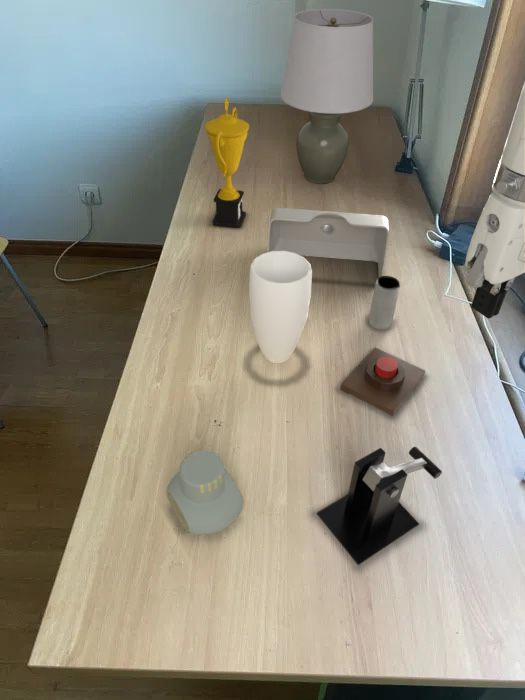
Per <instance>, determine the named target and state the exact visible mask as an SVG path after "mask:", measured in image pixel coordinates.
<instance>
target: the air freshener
mask: <svg viewBox="0 0 525 700" xmlns="http://www.w3.org/2000/svg"><path fill="white" fill-rule="evenodd" d="M165 491H166V496H167V498H168V501H169V504H170V506H171V508H172V509H173V512H174V513H175V515H176V517H177V518H178V520H179V522H180V524H181V525H182V527H183V528H184V530H185V531H186V532H187V533H188V534H191V535H194V536H210V535H215V534H218V533H221V532H222V531H224V530H226V529H228V528H229V527H230V526H231V525H232V524H233V523H234V522H236V520H237V519H238V518H239V516H240V514H241V512H242V509H243V507H244V498H243V495H242V492H241V490H240V488H239V487H238V485H237V483H236V481H235V480H234V478H233V477H232V475H231V474H230V472H229V471H228V470H227V469H226V468H225V463H224V460H223V458H221V457H220V455H218V454H217V453H215V452H213V451H210V450H206V449H205V450H197V451H194V452H191V453H189V454H188V455H187V456H185V457H184V459H183V460H182V461H181V463H180V466H179V471H178V472H177V473H176V474H174V476H173V477H171V479H170V481H169V483H168V485H167V487H166V489H165Z"/></svg>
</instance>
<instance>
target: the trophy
mask: <svg viewBox="0 0 525 700" xmlns="http://www.w3.org/2000/svg"><path fill="white" fill-rule="evenodd" d="M228 110H229V97H228V96H226V97H225V99H224V111H225V113H223V114H220V115H219V116H218V117H217V118H214V119H213V118H212V119H211V120H209V121H207V122H206V123H205V124H204V129H205V131H206V136H207V138H208V140H209V141H210V145H211V150H212V153H213V155H214V156H213V157H214V160H215V163H216V165H217V169H218V170H219V171H220V173H222V176H223V177H225V178H224V179H225V185H224V186H222V187H221V188H219V189H218V190H217V192H216V194H215V195H214V198H213V202H214V203H215V212H216V213H215V215H214V218H213V220H212V226H214V227H220V228H231V229H240V228H241V227H243V224H244V221H245V219H246V216H247V212H246V211H244V210H243V197H244V194H245V192H244V190H238V189H236V187H235V186H233V184H232V183H233V182H232V176H233V175H234V173H236V172H237V170H238V169H239V165H240V162H241V157H242V154H243V150H244V147H245V142H246V140H247V137H248V132H249V129H250V124H249V123H248V122H246V121H245V120H243V119H241V118H238V109H237V107H235V106H233V107H232V109H231V113H228Z"/></svg>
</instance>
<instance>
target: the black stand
mask: <svg viewBox="0 0 525 700" xmlns="http://www.w3.org/2000/svg"><path fill="white" fill-rule="evenodd" d="M385 457H386V451H385V450H384V449H383V448H382V447H379V448H378V449H376V450H374V451H372V452H370V453H369V454H367V455H365V456H363V457H362V458H359V459H358V460H356V461H355V462H354V464H353V469H352V475H351V480H350V483H349V489H348V493H347V494H346V495H345V496H343V497H341V498H339V499H338V500H335V501H334V502H333V503H331V504H330V505H328V506H326V507H324V508H323V509H321V510H319V511H318V512H316V515H317V516H318V517H319V519H320V520H321V521H322V522H323V524H324V525H325V526H326V527H327V529H328V530H329V531H330V533H331V534H332V535H333V536H334V537H335V539H336V540H337V541H338V543H340V545H341V546H342V547H343V549H344V550H345V551H346V552H347V554H348V555H349V556H350V557H351V558H352V560H353V561H354V562H355V563H356V565H357V566H360V565H361V564H362V563H364V562H366V561H367V560H368V559H370V558H372V557H373V556H375V555H376V554H378V553H379V552H381V551H382V550H383V549H385V548H387V547H388V546H389V545H391V544H393V543H394V542H396V541H397V540H399V539H400V538H402V537H404V535H406V534H408V533H409V532H410V531H412V530H413V529H415V528H416V527H418V526H419V525H420V523H419V522H418V521H417V520H416V519H415V518H414V517H413V516H412V515H411V513H410V512H409V511H408V510H407V509H406V508H405V507H404V506H403V505H402V504H401V503H400V499H401V496H402V493H403V491H404V488H405V484H406V481H407V478H408V474H407V473H406V472H405V471H404V470H403V469H402V470H400V471H398V472H397V473H395V474H393V475H392V476H390V477H388V478H387V479H385V480H383V481H382V482H380V483H378V484H377V485H376V487H375V490H374V491H372V489H371V488H370V487H369V486H368V485H367V484H366V483H365V482H364V481H363V478H364V476H365V474H366V472H367V471H368V469H369V467H370V466H373V465H376V464H380V463H383V462H384V461H385Z"/></svg>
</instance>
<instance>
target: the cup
mask: <svg viewBox="0 0 525 700" xmlns="http://www.w3.org/2000/svg"><path fill="white" fill-rule="evenodd" d="M312 277H313V269H312V265H311V263H310V262H309V261H308V260H307V259H306V258H305V256H303V255H298V254H296V253H293V252H288V251H271V252H267V251H266V252H263V253H261V254H260V255H257V257H255V258H254V259H253V261H252V262H251V264H250V266H249V280H248V281H249V284H248V285H249V286H248V295H249V313H250V314H249V315H250V321H251V326H252V330H253V333H254V337H255V340H256V343H257V345H258V347H259V350H260V352H261V353H262V355H263V357H264V359H266V361H268V362H269V363H273V364H282V363H285V362H287V361H288V360H289V359H290V357H292V355H293V353H294V352H295V350H296V348H297V346H298V344H299V342H300V340H301V337H302V335H303V333H304V329H305V326H306V323H307V321H308V317H309V311H310V305H311V297H312V280H313V279H312Z"/></svg>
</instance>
